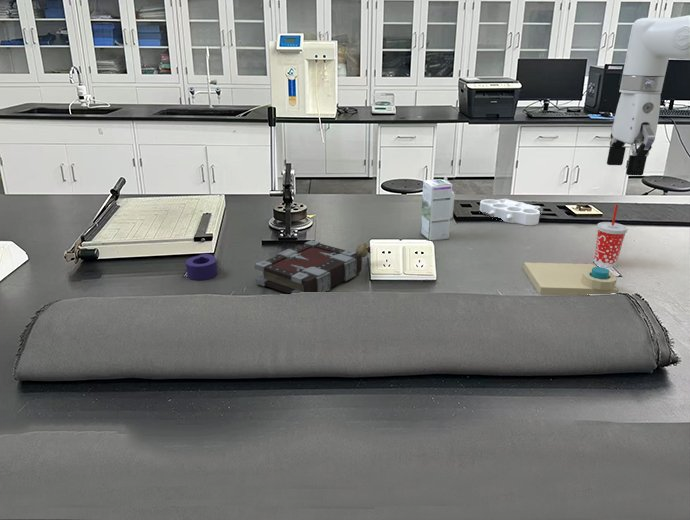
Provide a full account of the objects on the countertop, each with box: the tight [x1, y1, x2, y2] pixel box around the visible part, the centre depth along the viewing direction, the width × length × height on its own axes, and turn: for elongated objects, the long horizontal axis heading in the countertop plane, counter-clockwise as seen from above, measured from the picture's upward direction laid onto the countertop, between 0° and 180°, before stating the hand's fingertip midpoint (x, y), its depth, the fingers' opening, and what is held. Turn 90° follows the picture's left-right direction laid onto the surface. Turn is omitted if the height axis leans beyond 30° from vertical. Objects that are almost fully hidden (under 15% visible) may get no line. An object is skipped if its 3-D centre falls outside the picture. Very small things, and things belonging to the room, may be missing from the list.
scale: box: [522, 261, 619, 296], centre depth 110 cm, size 15×14×4 cm
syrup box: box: [420, 178, 453, 241], centre depth 135 cm, size 6×6×14 cm
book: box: [254, 239, 371, 294], centre depth 114 cm, size 15×25×5 cm, turn 143°
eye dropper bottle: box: [443, 176, 456, 220], centre depth 150 cm, size 4×6×12 cm
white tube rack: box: [479, 198, 544, 227], centre depth 153 cm, size 3×18×15 cm
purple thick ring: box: [185, 253, 218, 281], centre depth 116 cm, size 12×6×3 cm, turn 9°
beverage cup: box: [593, 203, 629, 268], centre depth 118 cm, size 6×6×14 cm
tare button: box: [591, 266, 611, 279], centre depth 106 cm, size 3×3×2 cm
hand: (623, 169), depth 113 cm, fingers open, 9 cm apart
